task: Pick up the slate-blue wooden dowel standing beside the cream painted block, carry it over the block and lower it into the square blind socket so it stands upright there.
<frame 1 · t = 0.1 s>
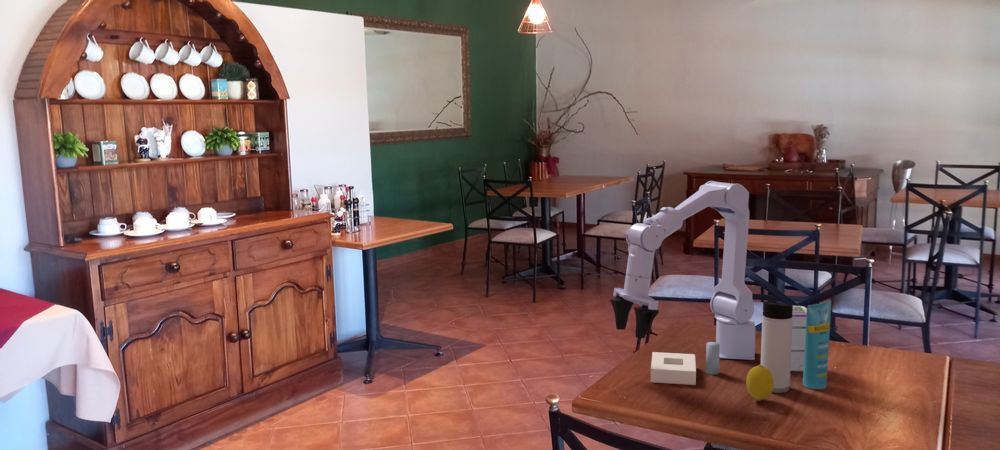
hand: (630, 333, 177), 11 cm above the table, tool pointing down, fingers open, 7 cm apart
dowel: (712, 372, 181), on the table
lemon: (759, 401, 163), on the table
tube: (815, 386, 171), on the table
bore block: (673, 374, 180), on the table
travel mug: (774, 389, 170), on the table
syrup box: (793, 367, 183), on the table
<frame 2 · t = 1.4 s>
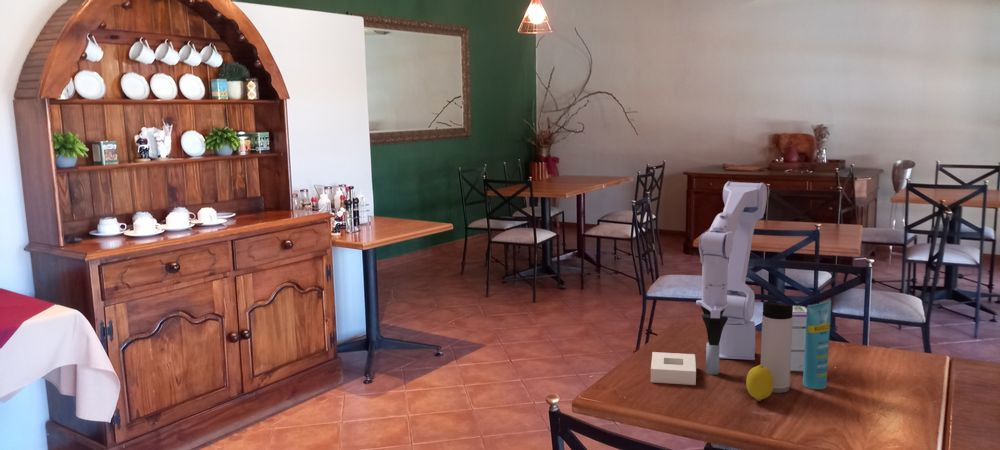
hand: (713, 339, 179), 8 cm above the table, tool pointing down, fingers open, 7 cm apart
nothing on the table moved.
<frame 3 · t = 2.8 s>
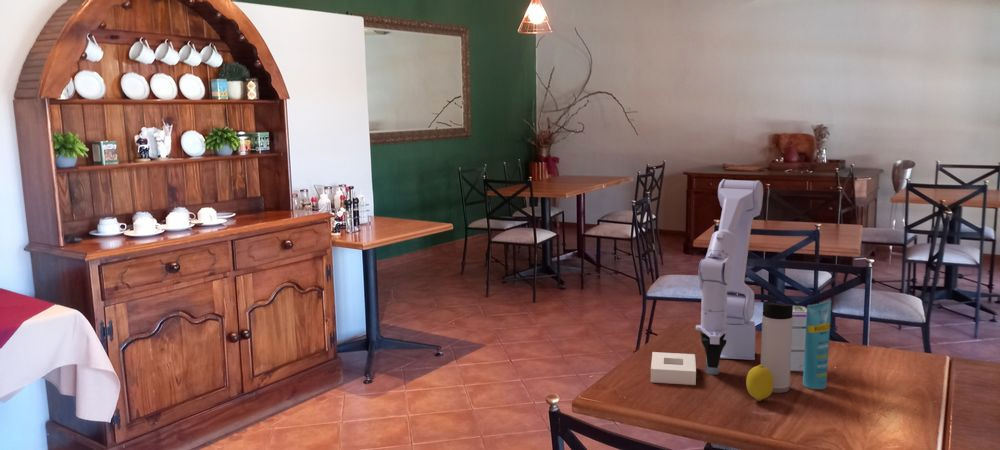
hand: (712, 364, 180), 2 cm above the table, tool pointing down, fingers closed on dowel, 3 cm apart
dowel: (712, 372, 181), on the table, touching gripper
everything else where it was.
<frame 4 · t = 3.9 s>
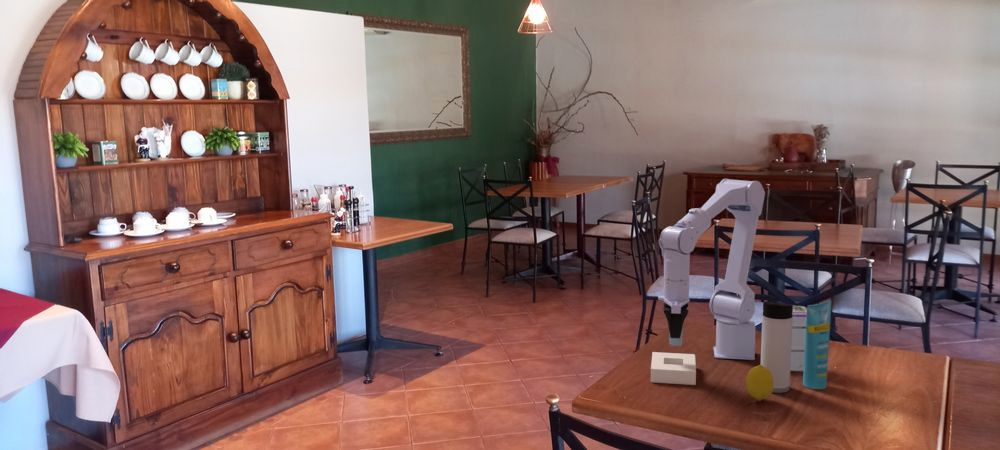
hand: (675, 335, 178), 9 cm above the table, tool pointing down, fingers closed on dowel, 3 cm apart
dowel: (675, 344, 178), point 7 cm above the table, touching gripper
everything else where it was.
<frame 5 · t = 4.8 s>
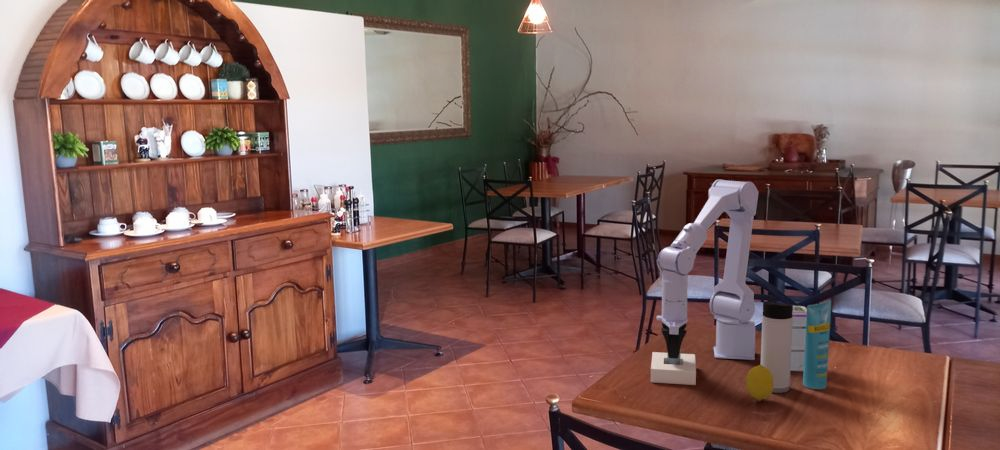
hand: (673, 355, 179), 5 cm above the table, tool pointing down, fingers closed on dowel, 3 cm apart
dowel: (673, 363, 179), point 3 cm above the table, touching gripper
everything else where it was.
when the fingers open (4 cm above the table, at t = 5.3 s): dowel stays where it is, resting on bore block.
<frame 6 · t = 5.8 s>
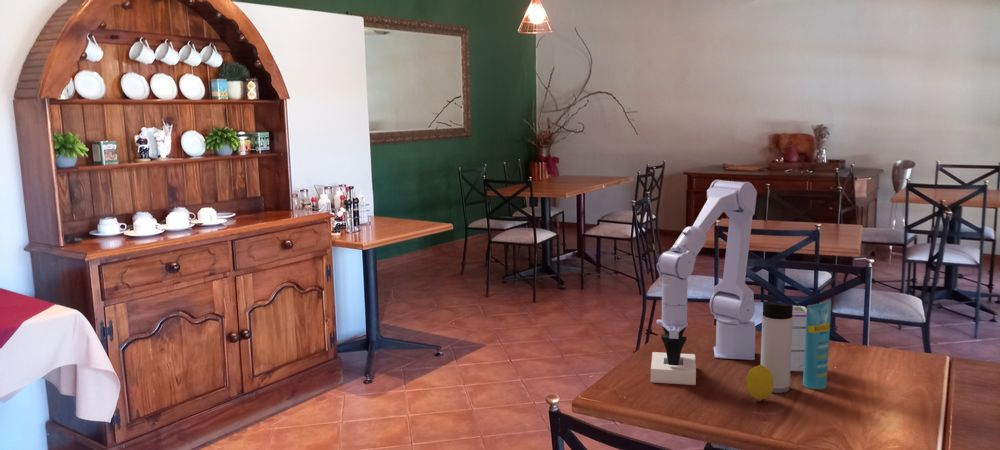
hand: (673, 359, 179), 4 cm above the table, tool pointing down, fingers open, 7 cm apart
dowel: (673, 370, 180), point 1 cm above the table, touching bore block
everything else where it was.
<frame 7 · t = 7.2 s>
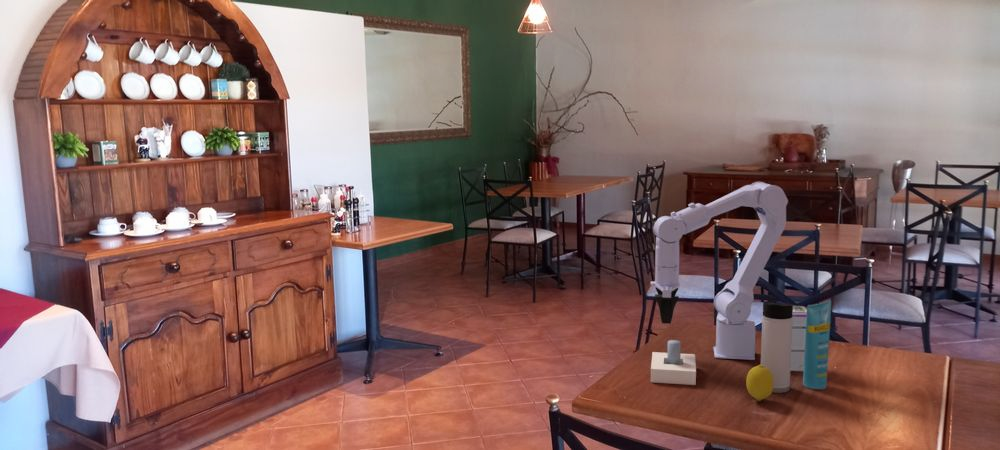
hand: (666, 318, 190), 10 cm above the table, tool pointing down, fingers open, 7 cm apart
nothing on the table moved.
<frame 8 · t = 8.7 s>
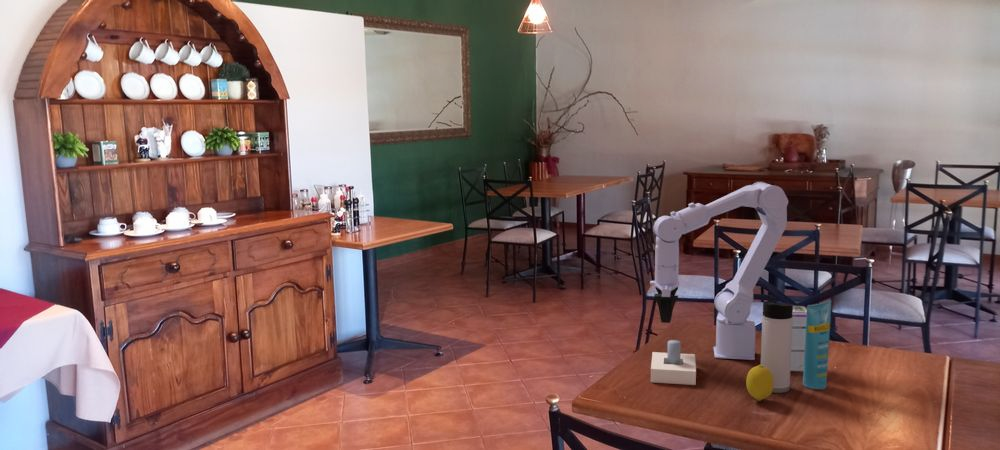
hand: (666, 318, 191), 10 cm above the table, tool pointing down, fingers open, 7 cm apart
nothing on the table moved.
at the end: dowel 0.1 cm off-centre on the bore block, point 0.9 cm above the bore block's base; dowel tilted 0°; the gripper is holding nothing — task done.
